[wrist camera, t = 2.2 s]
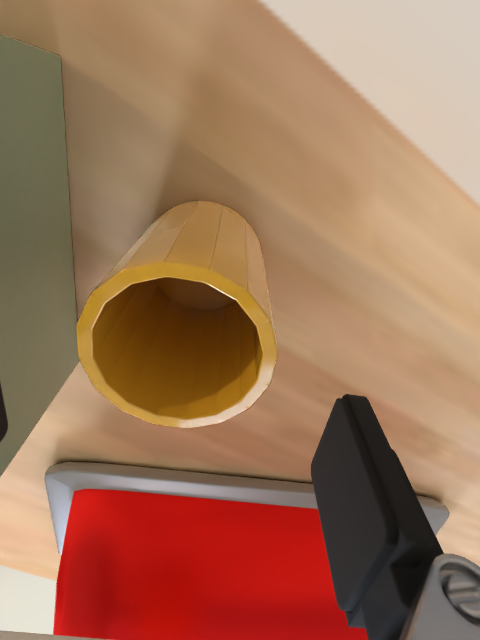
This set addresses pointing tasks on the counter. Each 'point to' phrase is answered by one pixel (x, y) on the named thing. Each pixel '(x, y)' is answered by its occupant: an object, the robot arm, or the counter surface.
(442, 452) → the counter surface
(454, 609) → the robot arm
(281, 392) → the counter surface
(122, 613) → the toaster
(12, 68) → the shelf
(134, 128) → the counter surface
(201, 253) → the cup
